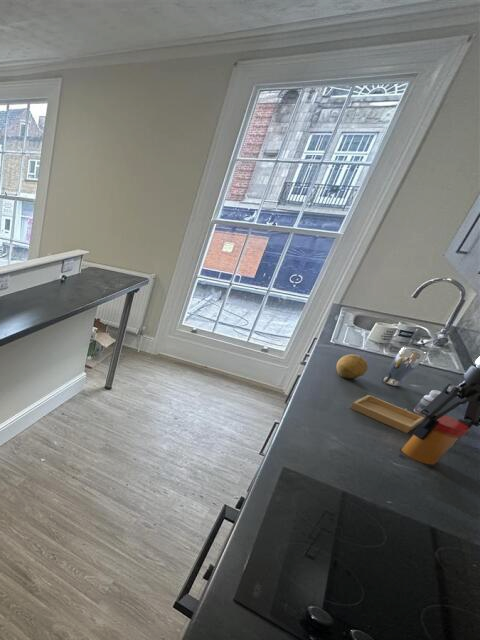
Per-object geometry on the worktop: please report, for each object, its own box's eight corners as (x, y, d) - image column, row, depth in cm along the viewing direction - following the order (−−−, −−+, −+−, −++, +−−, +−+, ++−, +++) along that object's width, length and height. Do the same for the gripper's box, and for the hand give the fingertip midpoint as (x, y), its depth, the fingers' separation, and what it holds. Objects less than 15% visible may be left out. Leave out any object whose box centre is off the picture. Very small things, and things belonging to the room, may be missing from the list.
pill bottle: (429, 413, 143) (447, 392, 138) (435, 420, 139) (453, 398, 134) (410, 408, 145) (427, 387, 141) (415, 414, 141) (432, 393, 137)
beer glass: (380, 377, 166) (403, 344, 159) (402, 384, 162) (427, 351, 154) (377, 381, 162) (401, 348, 155) (400, 389, 158) (425, 355, 150)
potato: (375, 356, 161) (347, 346, 165) (373, 367, 152) (344, 356, 157) (358, 375, 166) (332, 365, 171) (355, 387, 158) (328, 376, 163)
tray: (420, 423, 136) (424, 417, 135) (406, 433, 130) (411, 427, 128) (364, 400, 147) (368, 394, 146) (349, 408, 141) (353, 402, 140)
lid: (444, 420, 117) (449, 414, 116) (472, 438, 110) (478, 432, 109) (414, 416, 117) (419, 411, 116) (441, 434, 110) (446, 428, 109)
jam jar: (426, 452, 121) (454, 421, 115) (441, 467, 115) (472, 435, 109) (396, 444, 123) (422, 413, 117) (409, 459, 117) (437, 427, 111)
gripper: (517, 367, 107) (457, 434, 119) (439, 359, 107) (386, 426, 119) (551, 381, 101) (483, 450, 112) (467, 372, 101) (408, 442, 112)
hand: (433, 438), depth 115 cm, fingers closed on lid, 8 cm apart
